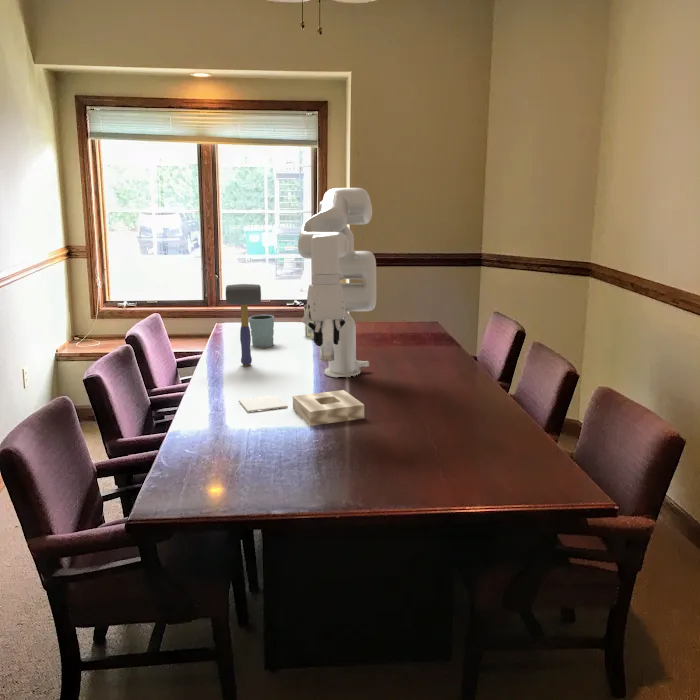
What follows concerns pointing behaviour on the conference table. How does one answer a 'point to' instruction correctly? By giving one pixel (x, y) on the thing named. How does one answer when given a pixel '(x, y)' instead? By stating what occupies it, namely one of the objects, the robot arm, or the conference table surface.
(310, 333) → the coffee can
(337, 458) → the conference table surface
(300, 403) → the socket block
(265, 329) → the teal cup
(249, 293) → the rubber mallet
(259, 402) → the mat
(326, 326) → the steel cylinder
